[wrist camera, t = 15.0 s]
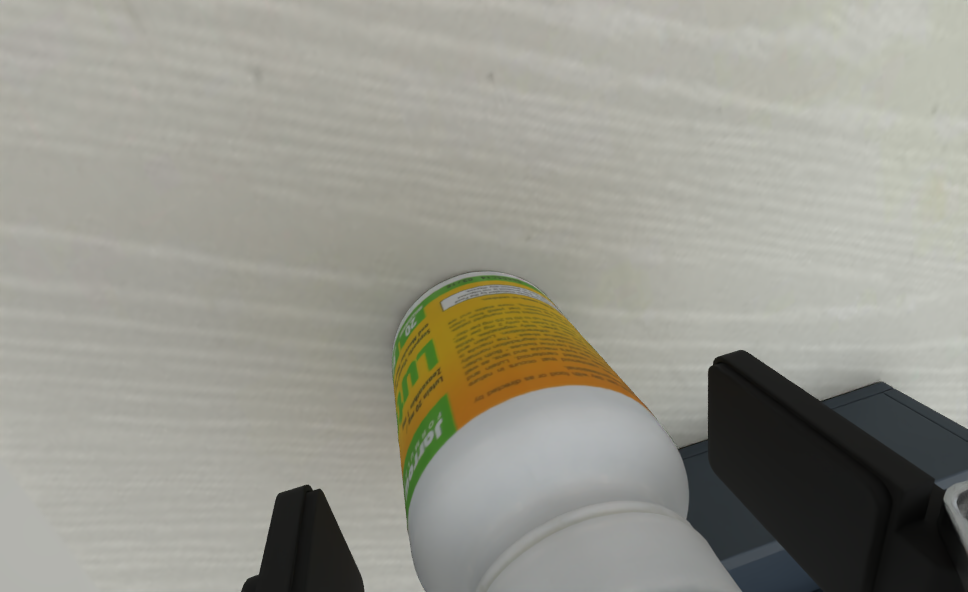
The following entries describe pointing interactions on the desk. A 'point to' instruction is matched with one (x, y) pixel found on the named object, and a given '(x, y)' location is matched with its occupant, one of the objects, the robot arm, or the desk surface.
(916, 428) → the slate bin
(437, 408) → the supplement bottle
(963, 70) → the desk surface
